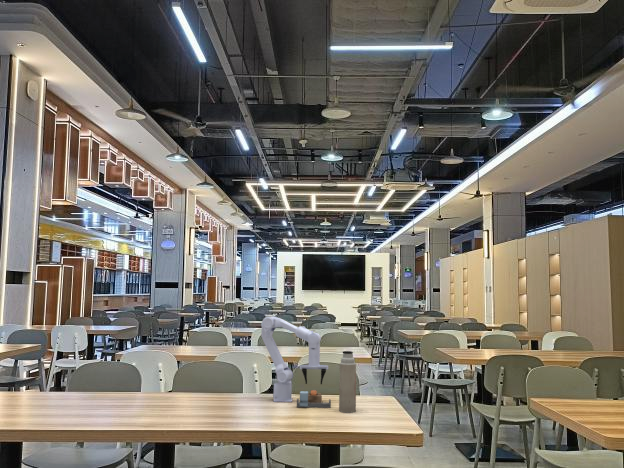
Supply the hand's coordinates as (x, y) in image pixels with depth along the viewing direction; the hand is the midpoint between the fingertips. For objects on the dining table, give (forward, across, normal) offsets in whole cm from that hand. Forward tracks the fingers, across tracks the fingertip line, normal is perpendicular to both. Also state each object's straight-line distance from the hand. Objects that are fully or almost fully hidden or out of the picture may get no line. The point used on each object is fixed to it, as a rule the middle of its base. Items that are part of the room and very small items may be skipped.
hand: (313, 383), depth 287 cm
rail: (+9, 0, -11) cm, 14 cm away
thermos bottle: (+10, +16, -19) cm, 27 cm away
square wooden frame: (+9, 0, 0) cm, 9 cm away
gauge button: (+7, 0, 0) cm, 7 cm away
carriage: (+9, -5, -11) cm, 15 cm away
